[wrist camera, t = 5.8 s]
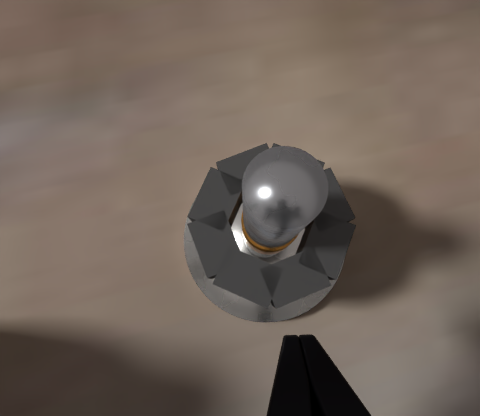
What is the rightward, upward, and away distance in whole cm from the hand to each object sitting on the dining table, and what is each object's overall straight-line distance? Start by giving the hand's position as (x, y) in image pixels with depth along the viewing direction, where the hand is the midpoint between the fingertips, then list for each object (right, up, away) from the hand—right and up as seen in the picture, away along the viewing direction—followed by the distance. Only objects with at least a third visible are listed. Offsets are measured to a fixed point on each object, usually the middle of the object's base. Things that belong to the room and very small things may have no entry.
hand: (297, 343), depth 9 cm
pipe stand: (0, +2, +13) cm, 14 cm away
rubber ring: (0, +3, +10) cm, 10 cm away
